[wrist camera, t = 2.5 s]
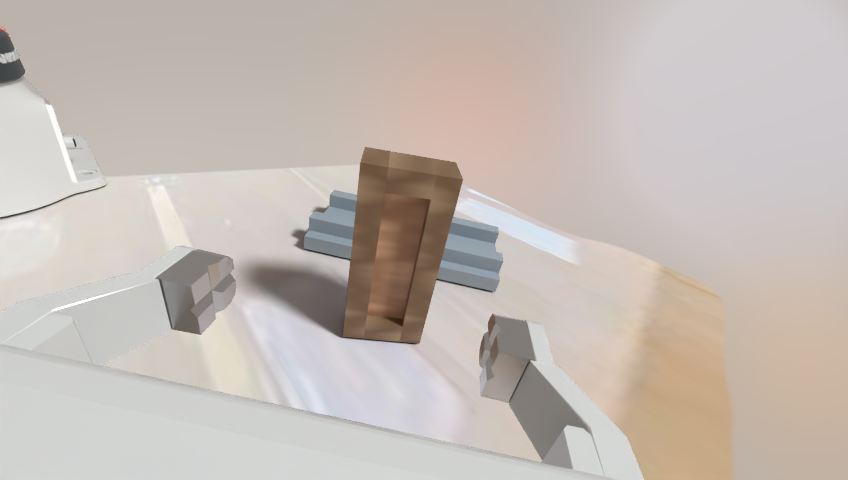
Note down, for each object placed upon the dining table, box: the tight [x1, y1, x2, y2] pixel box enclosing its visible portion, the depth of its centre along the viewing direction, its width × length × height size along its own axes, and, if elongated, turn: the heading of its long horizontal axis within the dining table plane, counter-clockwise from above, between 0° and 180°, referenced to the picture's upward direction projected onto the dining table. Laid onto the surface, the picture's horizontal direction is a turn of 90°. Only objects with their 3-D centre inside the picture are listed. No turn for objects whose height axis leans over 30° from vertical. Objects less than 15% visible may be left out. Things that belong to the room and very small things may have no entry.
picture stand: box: [304, 190, 503, 292], centre depth 39 cm, size 20×10×3 cm, turn 84°
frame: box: [343, 147, 463, 343], centre depth 25 cm, size 6×3×14 cm, turn 94°
